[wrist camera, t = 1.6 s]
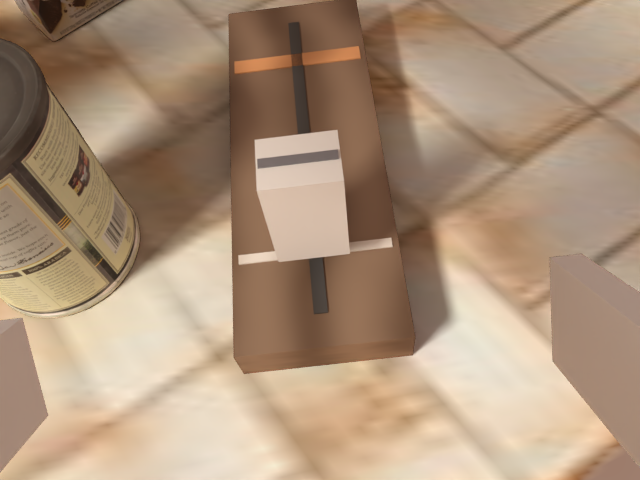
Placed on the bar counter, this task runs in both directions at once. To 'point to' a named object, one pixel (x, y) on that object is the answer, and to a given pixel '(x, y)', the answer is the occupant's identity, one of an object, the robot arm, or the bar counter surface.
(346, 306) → the brown slab
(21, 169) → the coffee can
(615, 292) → the robot arm
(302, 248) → the fader
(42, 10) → the cookie box
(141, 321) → the bar counter surface
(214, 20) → the bar counter surface
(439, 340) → the bar counter surface
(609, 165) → the bar counter surface
